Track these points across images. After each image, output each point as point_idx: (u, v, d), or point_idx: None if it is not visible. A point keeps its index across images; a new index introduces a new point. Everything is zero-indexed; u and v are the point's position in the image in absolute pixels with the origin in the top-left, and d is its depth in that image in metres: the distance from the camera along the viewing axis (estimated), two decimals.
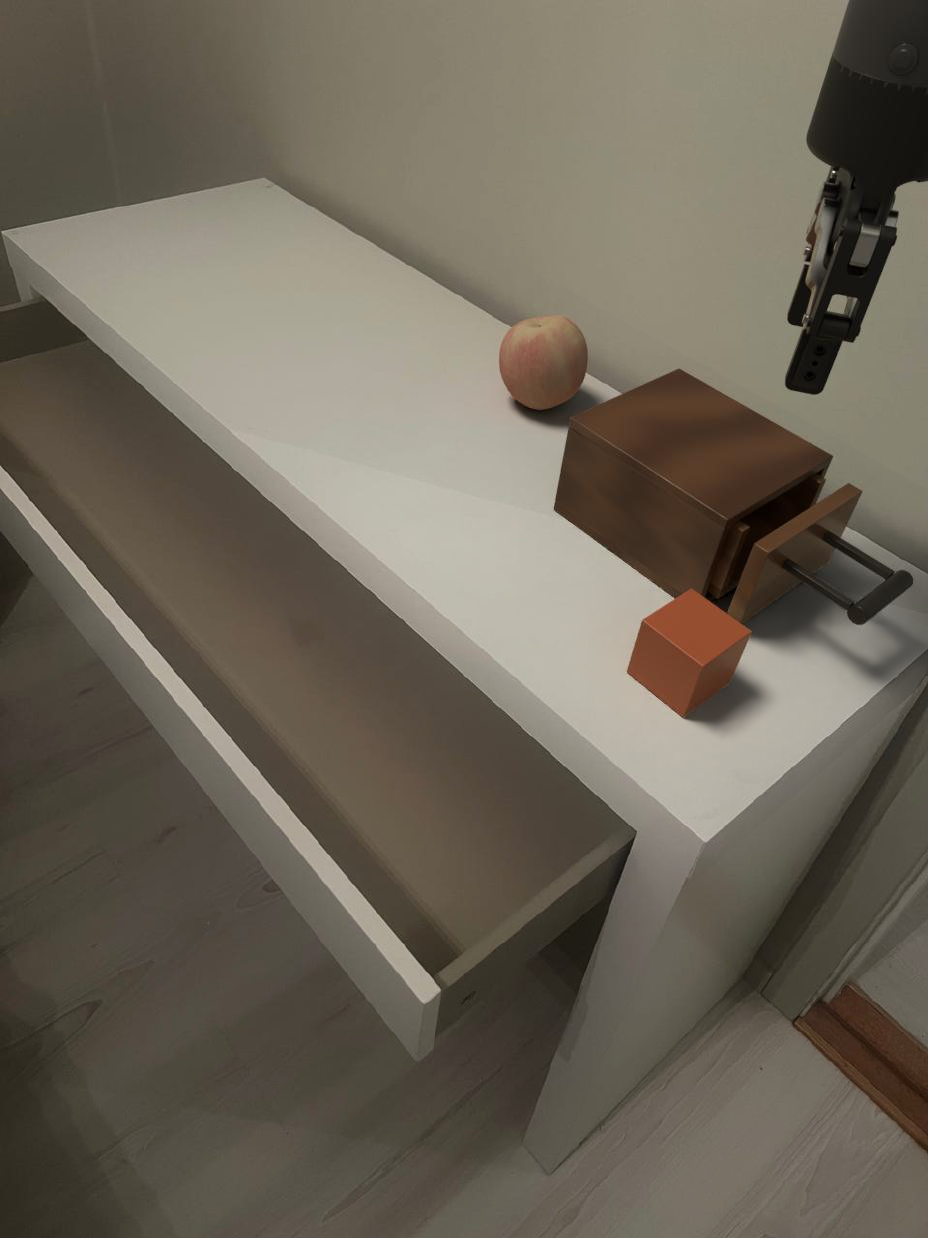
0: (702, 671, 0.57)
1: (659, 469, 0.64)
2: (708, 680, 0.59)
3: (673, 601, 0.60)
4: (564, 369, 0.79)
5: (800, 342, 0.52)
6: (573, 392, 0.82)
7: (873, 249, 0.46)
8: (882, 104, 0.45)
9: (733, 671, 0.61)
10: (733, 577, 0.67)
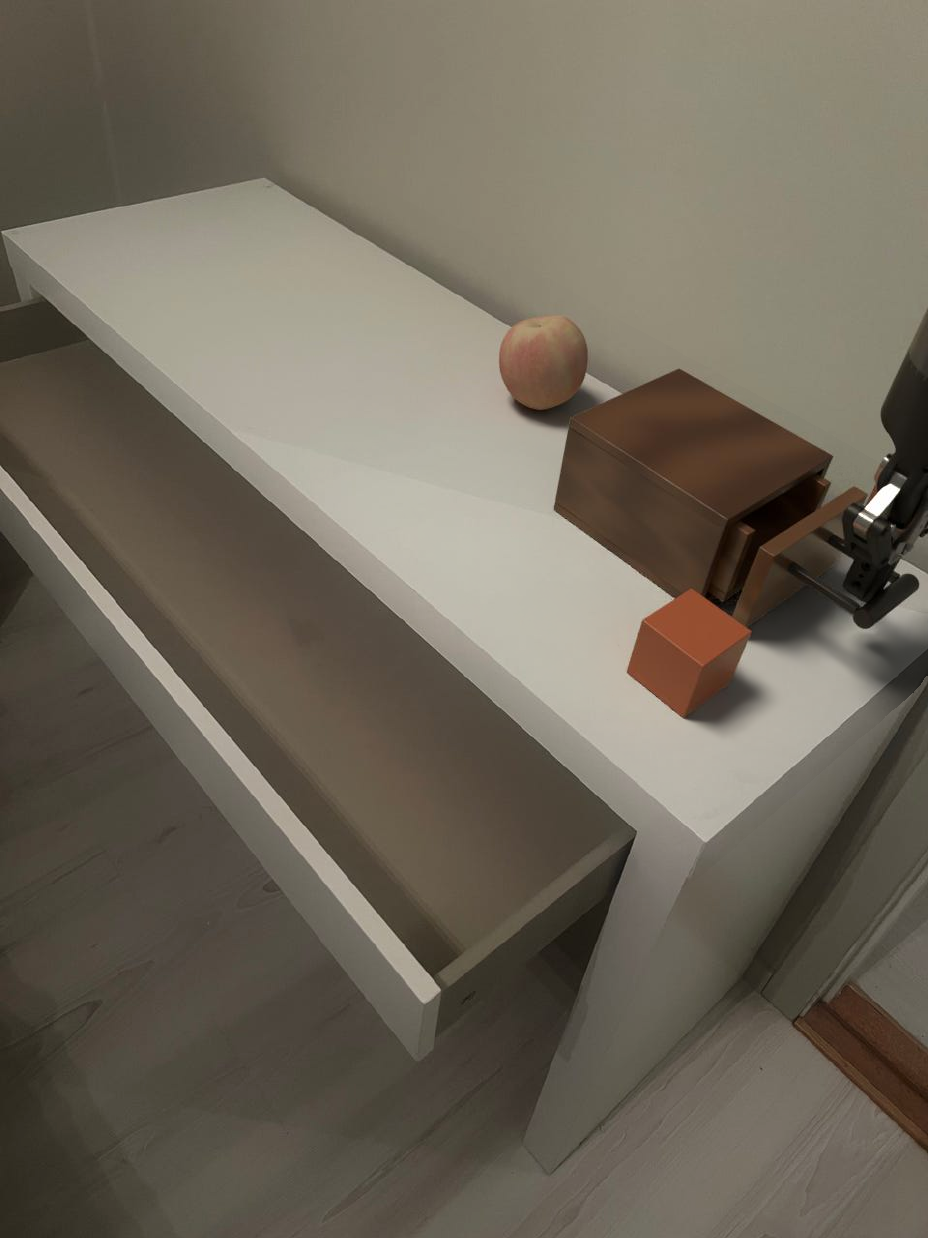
0: (702, 671, 0.57)
1: (659, 469, 0.64)
2: (708, 680, 0.59)
3: (673, 601, 0.60)
4: (564, 369, 0.79)
5: (857, 555, 0.61)
6: (573, 392, 0.82)
7: (865, 536, 0.54)
8: (920, 394, 0.50)
9: (733, 671, 0.61)
10: (738, 580, 0.67)
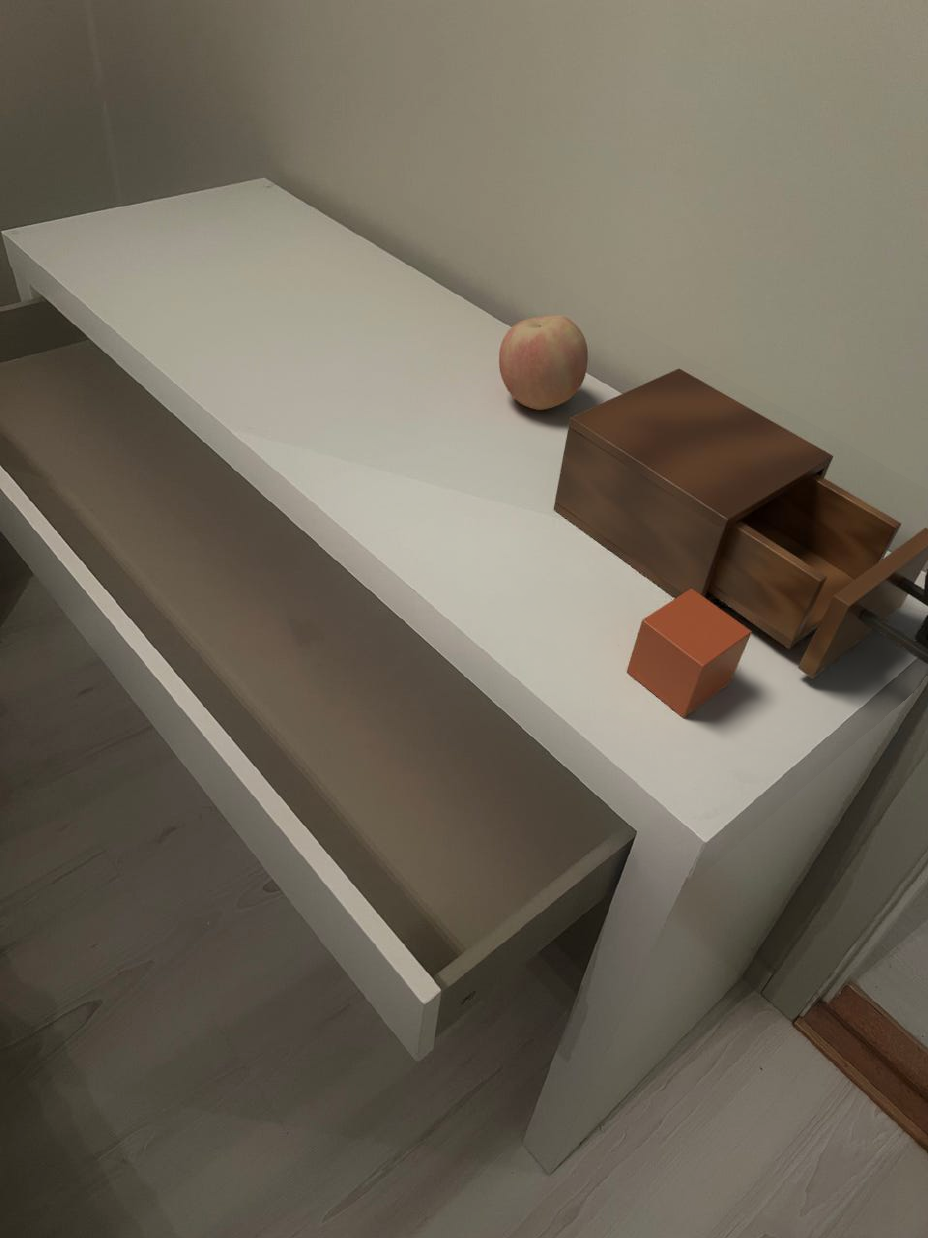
0: (702, 671, 0.57)
1: (659, 469, 0.64)
2: (708, 680, 0.59)
3: (673, 601, 0.60)
4: (564, 369, 0.79)
5: None
6: (573, 392, 0.82)
7: None
8: None
9: (733, 671, 0.61)
10: (804, 626, 0.64)
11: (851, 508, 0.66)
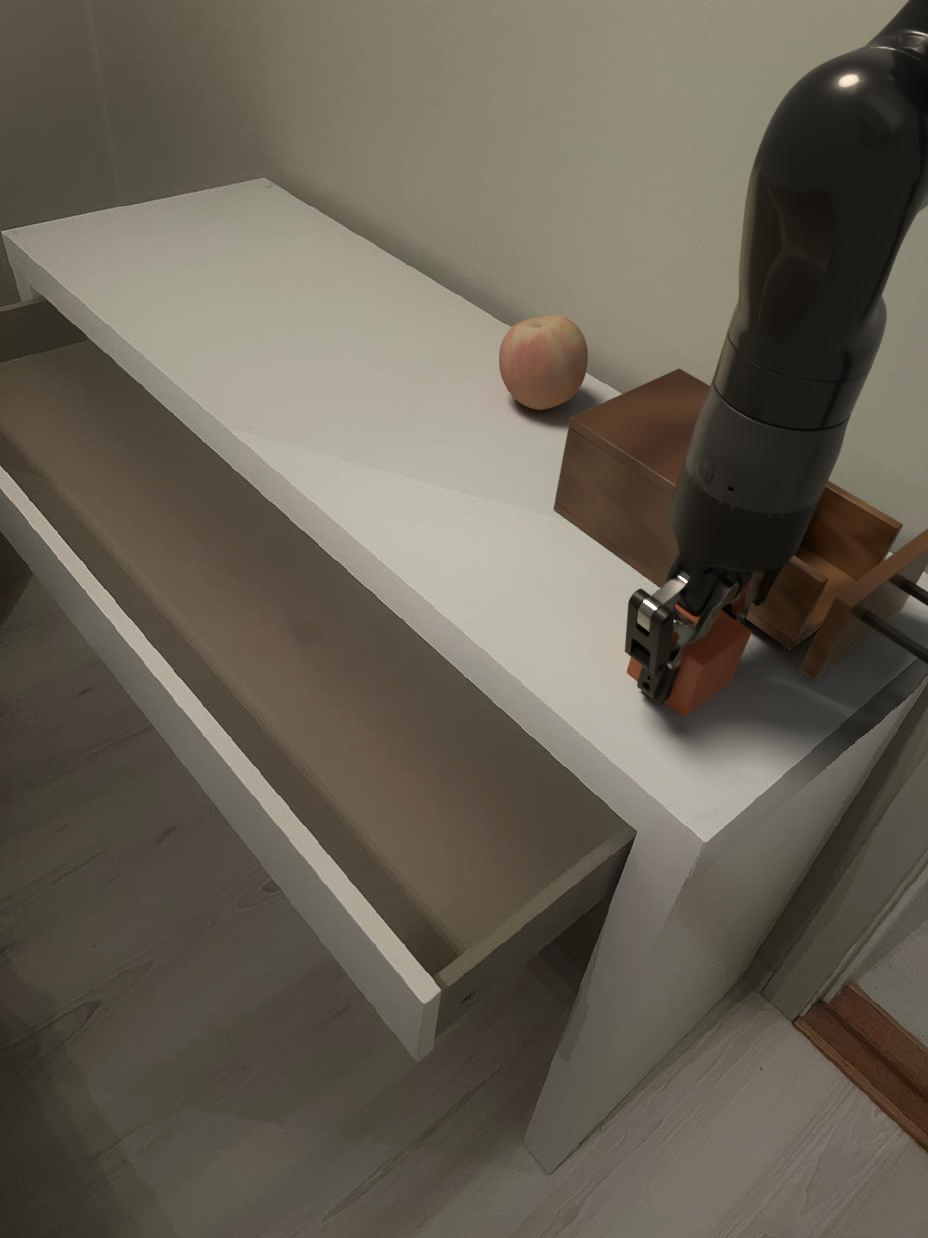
0: (702, 671, 0.57)
1: (659, 469, 0.64)
2: (708, 680, 0.59)
3: None
4: (564, 369, 0.79)
5: None
6: (573, 392, 0.82)
7: (649, 623, 0.52)
8: (691, 498, 0.50)
9: (733, 671, 0.61)
10: (806, 627, 0.64)
11: (853, 509, 0.66)
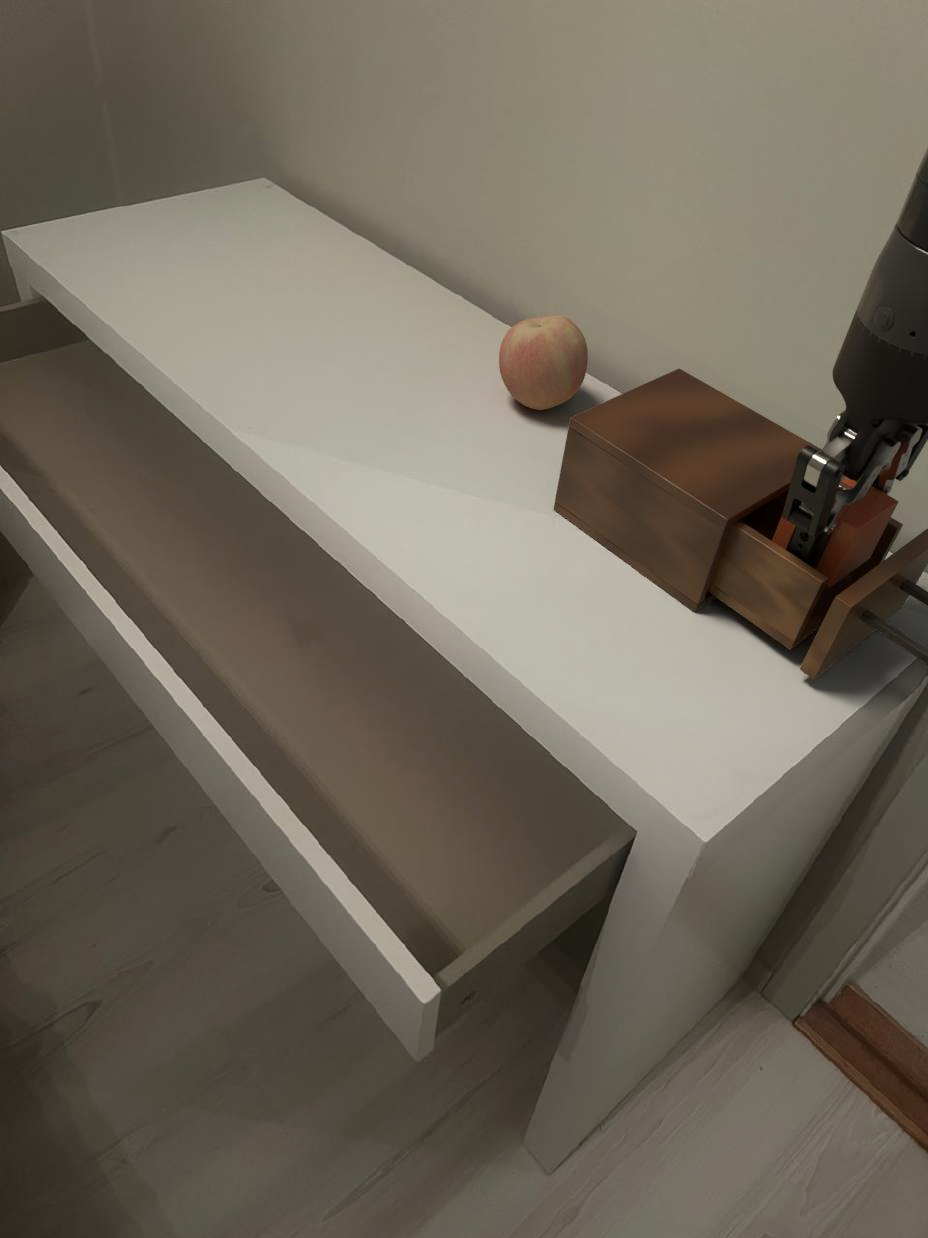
0: (855, 535, 0.59)
1: (659, 469, 0.64)
2: (856, 548, 0.60)
3: None
4: (564, 369, 0.79)
5: None
6: (573, 392, 0.82)
7: (818, 477, 0.54)
8: (867, 349, 0.52)
9: (875, 545, 0.63)
10: (805, 627, 0.64)
11: None
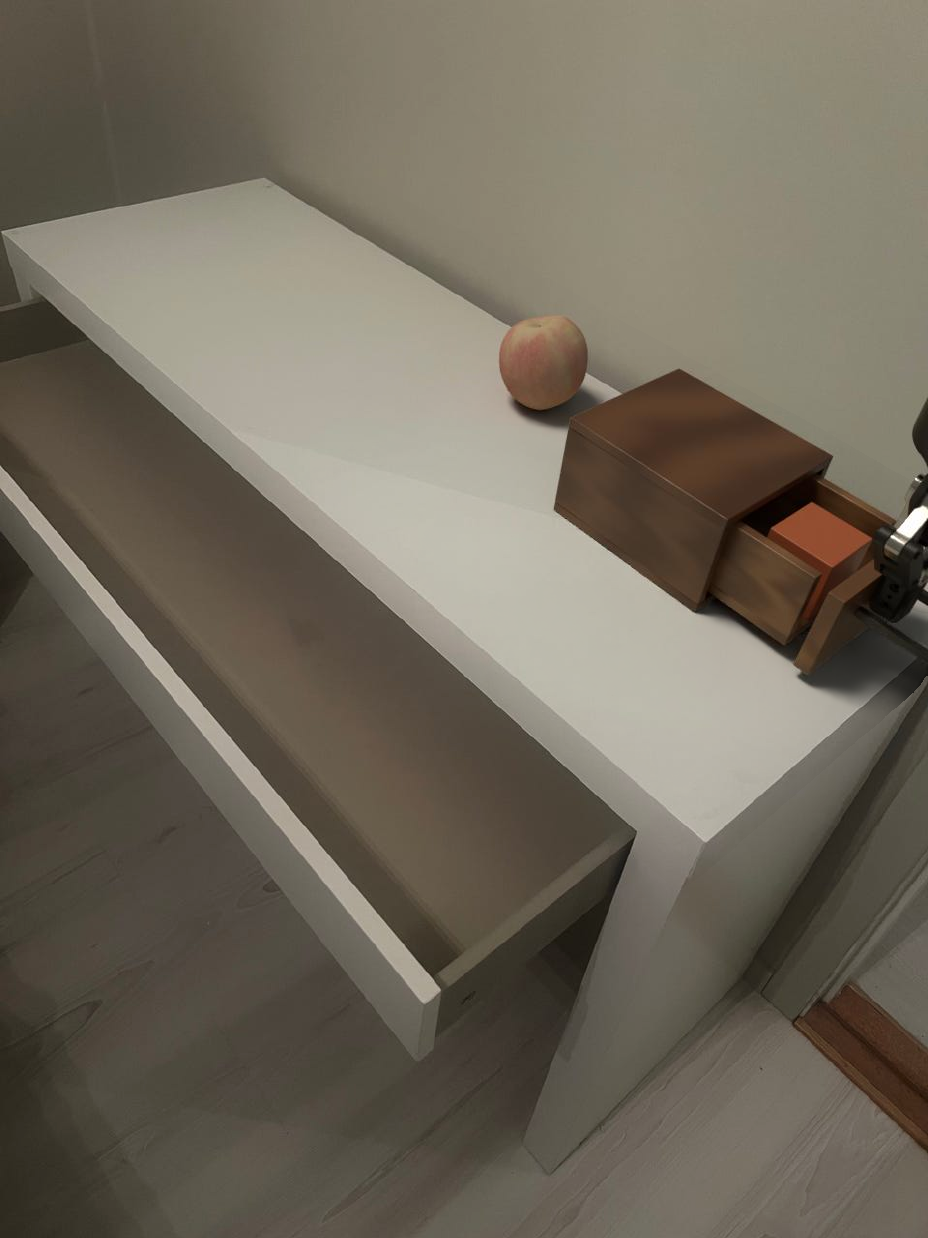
0: (831, 573, 0.61)
1: (659, 469, 0.64)
2: (832, 584, 0.63)
3: (797, 512, 0.65)
4: (564, 369, 0.79)
5: (885, 575, 0.60)
6: (573, 392, 0.82)
7: (897, 558, 0.53)
8: None
9: None
10: (799, 623, 0.64)
11: (847, 505, 0.66)
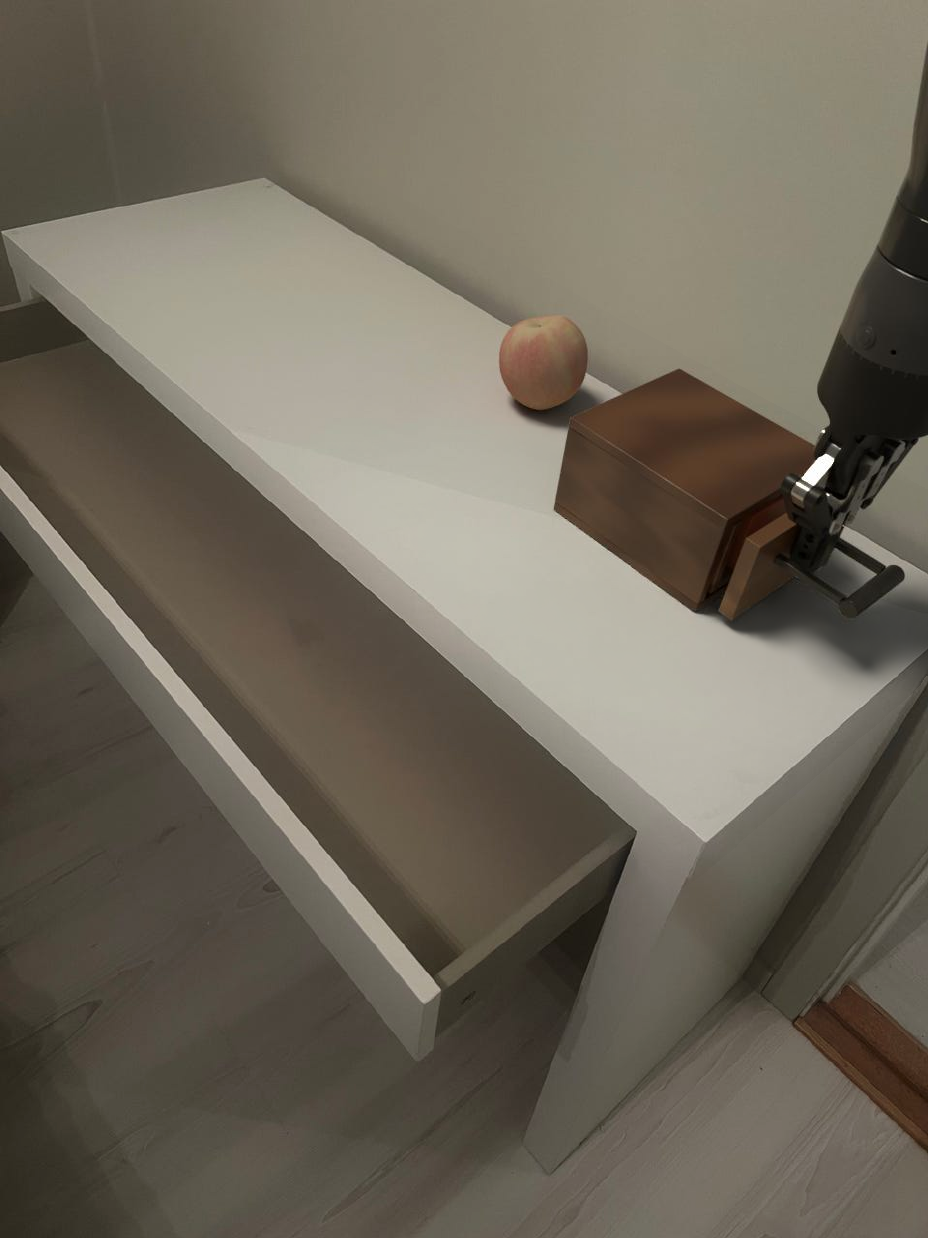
0: (752, 522, 0.65)
1: (659, 469, 0.64)
2: None
3: None
4: (564, 369, 0.79)
5: (802, 526, 0.63)
6: (573, 392, 0.82)
7: (803, 504, 0.57)
8: (849, 366, 0.53)
9: None
10: (726, 572, 0.67)
11: None
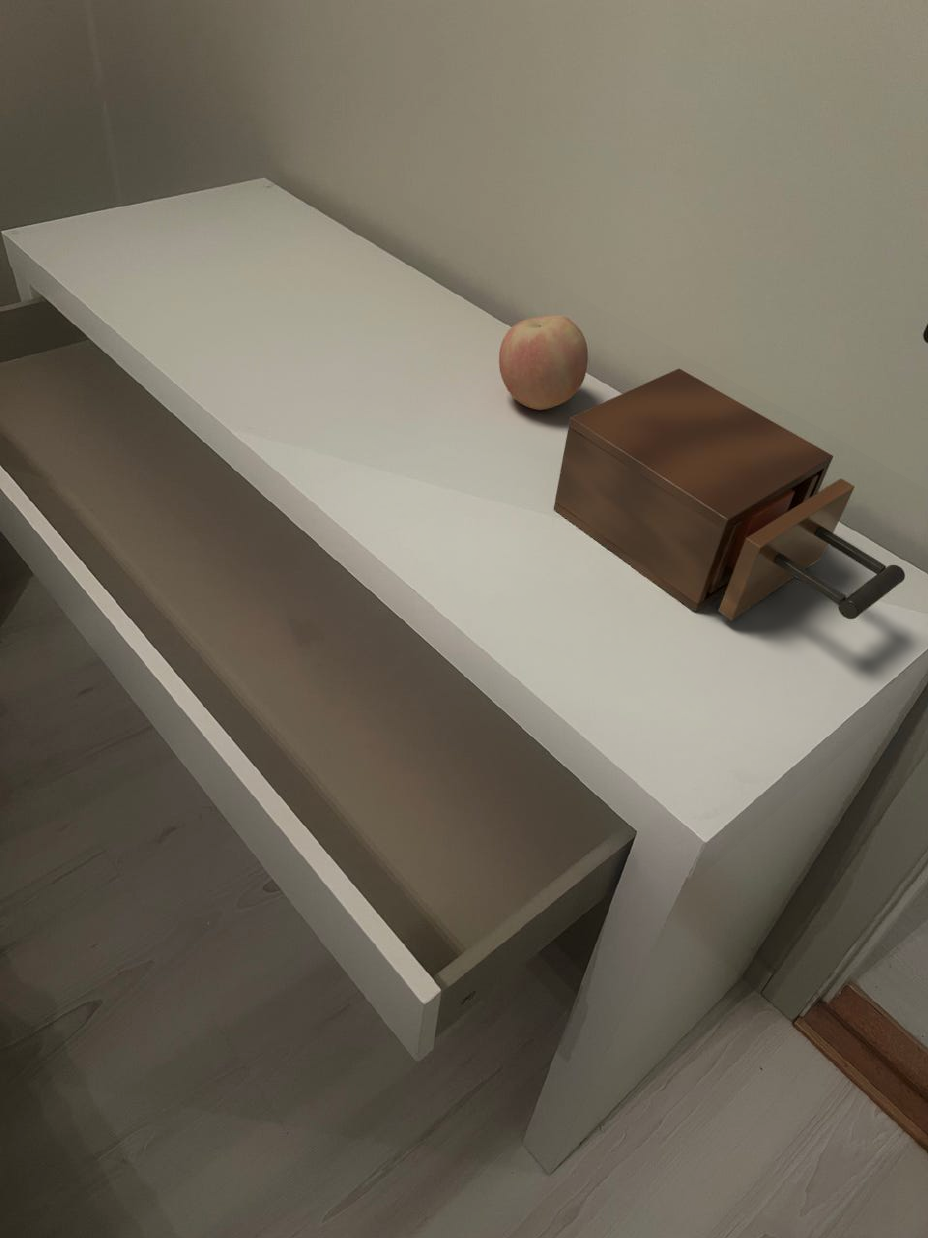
0: (752, 522, 0.65)
1: (659, 469, 0.64)
2: None
3: None
4: (564, 369, 0.79)
5: None
6: (573, 392, 0.82)
7: None
8: None
9: None
10: (726, 572, 0.67)
11: None
